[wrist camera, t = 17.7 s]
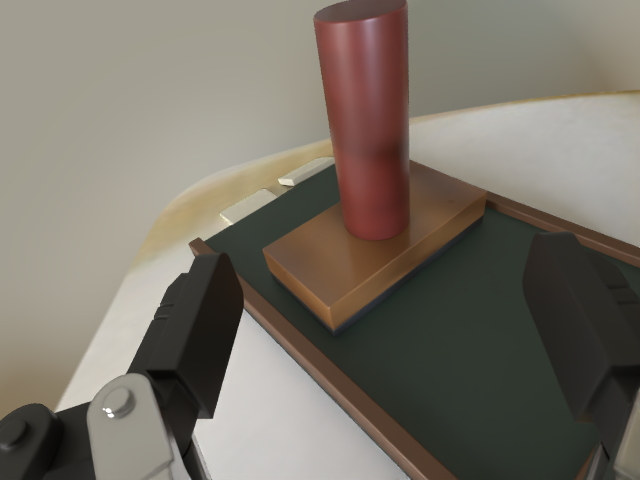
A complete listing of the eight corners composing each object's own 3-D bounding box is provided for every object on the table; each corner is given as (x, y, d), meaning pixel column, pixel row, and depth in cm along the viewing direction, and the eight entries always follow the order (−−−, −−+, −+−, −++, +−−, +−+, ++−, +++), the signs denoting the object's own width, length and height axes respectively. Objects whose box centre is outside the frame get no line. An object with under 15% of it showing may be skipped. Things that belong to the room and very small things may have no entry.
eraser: (409, 188, 26) (407, -29, 18) (483, 223, 22) (520, -29, 15) (271, 278, 22) (191, 45, 14) (335, 338, 18) (275, 71, 10)
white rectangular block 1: (265, 192, 31) (264, 187, 30) (284, 204, 29) (282, 199, 29) (221, 217, 29) (219, 212, 29) (238, 232, 27) (235, 226, 27)
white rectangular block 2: (320, 163, 32) (318, 157, 32) (337, 162, 30) (334, 156, 30) (280, 184, 31) (277, 178, 30) (294, 185, 28) (291, 179, 28)
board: (360, 159, 32) (358, 142, 31) (711, 303, 18) (728, 280, 17) (196, 260, 25) (187, 243, 24) (535, 607, 11) (546, 599, 10)
